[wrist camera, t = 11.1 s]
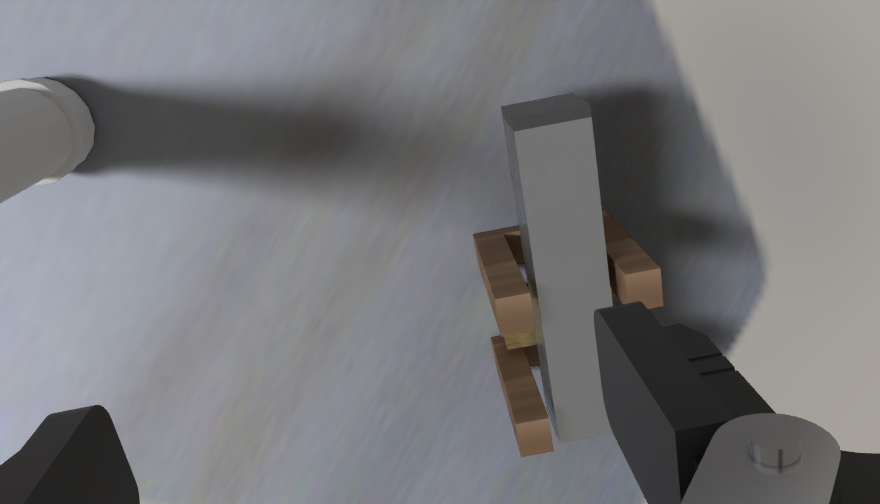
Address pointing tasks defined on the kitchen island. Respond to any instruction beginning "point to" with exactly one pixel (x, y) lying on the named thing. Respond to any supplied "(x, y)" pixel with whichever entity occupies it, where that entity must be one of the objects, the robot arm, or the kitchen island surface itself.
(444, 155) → the kitchen island surface
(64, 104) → the pipe
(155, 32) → the kitchen island surface
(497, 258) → the brown wooden frame
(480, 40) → the kitchen island surface
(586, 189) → the shaft
